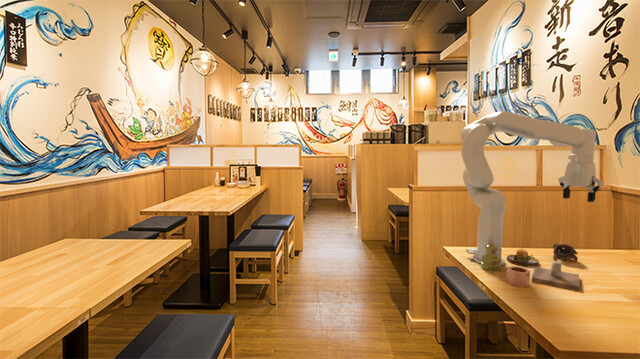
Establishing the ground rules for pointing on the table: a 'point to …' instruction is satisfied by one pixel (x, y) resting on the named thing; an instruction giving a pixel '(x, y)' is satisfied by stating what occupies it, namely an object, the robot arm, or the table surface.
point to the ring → (518, 276)
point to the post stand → (556, 277)
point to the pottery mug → (564, 252)
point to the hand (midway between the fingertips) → (578, 199)
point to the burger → (522, 258)
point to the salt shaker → (491, 259)
